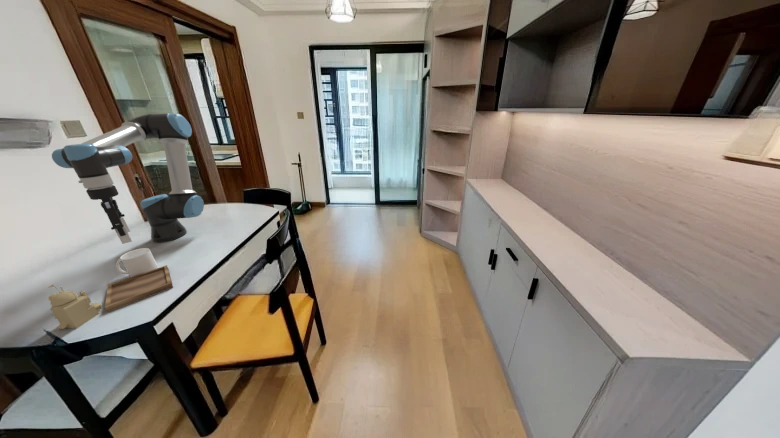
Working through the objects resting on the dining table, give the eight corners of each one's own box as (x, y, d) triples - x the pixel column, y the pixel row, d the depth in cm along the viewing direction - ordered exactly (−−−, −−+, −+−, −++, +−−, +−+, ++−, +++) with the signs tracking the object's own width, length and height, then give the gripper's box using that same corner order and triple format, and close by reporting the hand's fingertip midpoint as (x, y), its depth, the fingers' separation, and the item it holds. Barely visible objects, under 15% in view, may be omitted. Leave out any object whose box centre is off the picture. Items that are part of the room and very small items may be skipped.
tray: (110, 288, 99) (108, 284, 98) (168, 269, 110) (166, 265, 109) (107, 312, 87) (104, 307, 86) (173, 287, 98) (171, 283, 97)
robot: (88, 307, 89) (64, 272, 83) (108, 308, 88) (85, 273, 82) (49, 331, 80) (19, 293, 74) (71, 332, 79) (42, 294, 73)
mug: (162, 264, 114) (154, 246, 110) (150, 276, 106) (141, 257, 102) (131, 269, 111) (121, 251, 107) (116, 281, 103) (105, 262, 99)
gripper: (87, 183, 99) (113, 231, 107) (82, 196, 83) (113, 251, 91) (114, 179, 104) (136, 225, 112) (114, 190, 88) (141, 243, 96)
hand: (126, 237), depth 102 cm, fingers open, 13 cm apart
